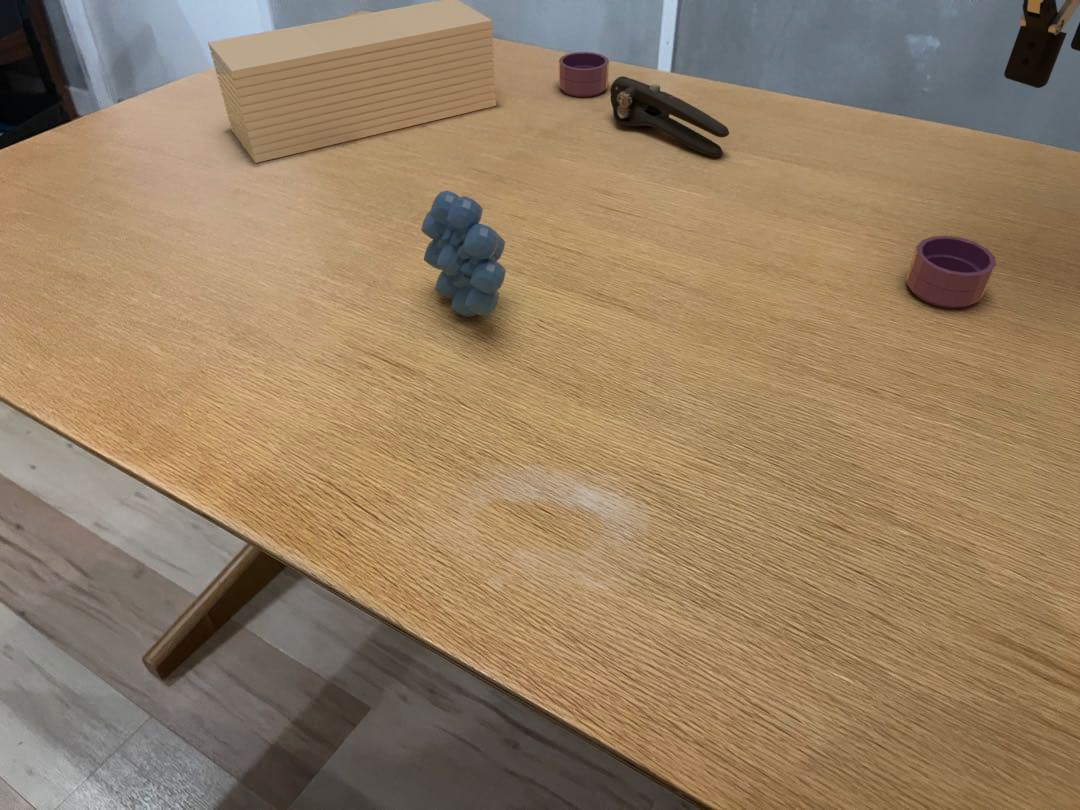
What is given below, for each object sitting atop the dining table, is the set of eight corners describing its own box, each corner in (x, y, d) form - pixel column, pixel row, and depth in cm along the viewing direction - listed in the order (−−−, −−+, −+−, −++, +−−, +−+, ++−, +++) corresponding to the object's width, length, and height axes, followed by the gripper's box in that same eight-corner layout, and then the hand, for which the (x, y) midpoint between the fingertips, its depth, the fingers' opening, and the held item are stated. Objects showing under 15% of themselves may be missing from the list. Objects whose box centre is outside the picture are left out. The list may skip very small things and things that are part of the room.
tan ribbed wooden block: (255, 163, 96) (231, 70, 89) (231, 130, 103) (207, 41, 96) (496, 106, 108) (492, 19, 101) (460, 80, 115) (454, -3, 108)
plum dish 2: (959, 268, 78) (973, 233, 76) (994, 308, 74) (1010, 272, 71) (892, 273, 78) (904, 238, 75) (924, 313, 73) (937, 277, 71)
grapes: (543, 329, 72) (542, 206, 64) (476, 356, 69) (466, 231, 61) (475, 269, 79) (467, 151, 71) (413, 292, 76) (396, 172, 68)
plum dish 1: (603, 78, 115) (604, 50, 112) (611, 97, 110) (612, 68, 108) (556, 81, 114) (556, 53, 112) (562, 99, 110) (562, 70, 107)
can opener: (595, 121, 104) (597, 76, 101) (634, 106, 108) (636, 62, 104) (702, 169, 94) (708, 121, 90) (740, 151, 98) (748, 104, 94)
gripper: (1157, -176, 48) (1043, 110, 60) (1282, -206, 55) (1159, 54, 67) (1035, -188, 53) (951, 80, 64) (1165, -214, 60) (1069, 30, 72)
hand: (1057, 66), depth 66 cm, fingers open, 9 cm apart
